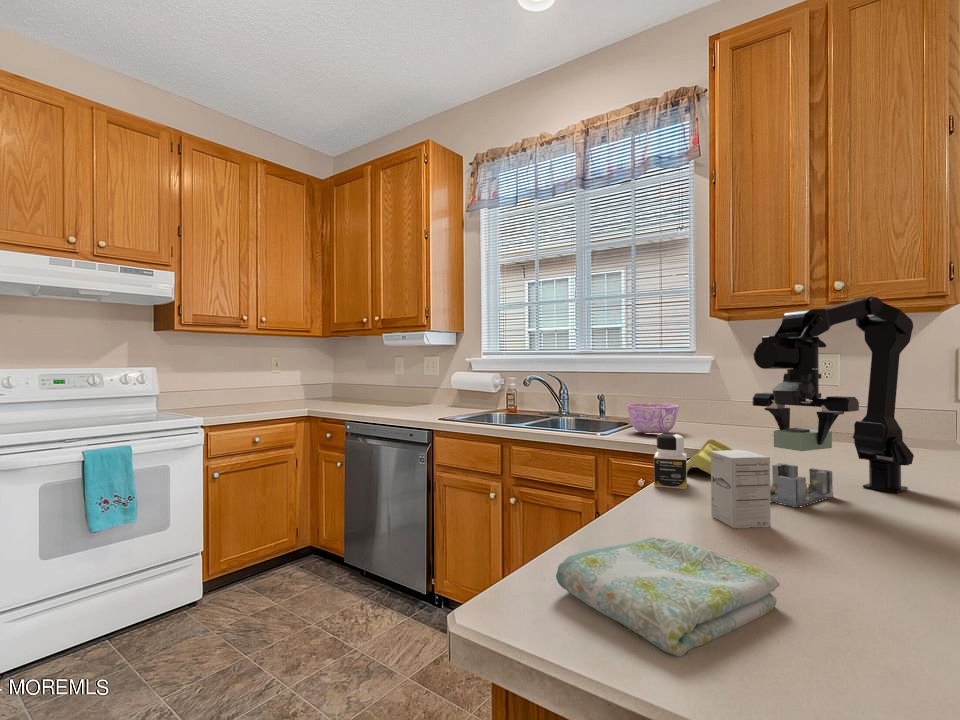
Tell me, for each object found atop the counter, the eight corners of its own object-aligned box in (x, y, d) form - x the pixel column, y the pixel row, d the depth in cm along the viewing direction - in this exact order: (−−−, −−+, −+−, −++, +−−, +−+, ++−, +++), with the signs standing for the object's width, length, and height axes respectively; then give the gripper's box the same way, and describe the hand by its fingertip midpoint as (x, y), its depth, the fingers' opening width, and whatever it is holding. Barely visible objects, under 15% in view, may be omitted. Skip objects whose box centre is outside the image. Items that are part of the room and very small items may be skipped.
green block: (803, 444, 115) (803, 425, 115) (831, 447, 109) (831, 429, 109) (773, 447, 110) (773, 428, 110) (801, 451, 105) (801, 431, 105)
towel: (786, 609, 62) (785, 567, 62) (673, 667, 51) (672, 615, 51) (660, 561, 78) (660, 527, 78) (552, 597, 66) (552, 557, 66)
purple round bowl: (679, 438, 196) (679, 407, 196) (624, 436, 203) (624, 406, 203) (679, 431, 214) (679, 403, 214) (629, 429, 222) (629, 402, 222)
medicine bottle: (654, 486, 122) (653, 436, 122) (655, 480, 128) (655, 432, 128) (686, 489, 119) (686, 437, 119) (686, 482, 126) (686, 433, 126)
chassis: (780, 486, 120) (780, 463, 120) (833, 496, 111) (832, 471, 111) (744, 496, 112) (743, 471, 112) (797, 508, 103) (797, 480, 103)
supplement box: (710, 517, 98) (709, 450, 98) (747, 515, 99) (746, 449, 99) (732, 529, 91) (731, 457, 91) (772, 527, 91) (771, 456, 91)
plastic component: (729, 471, 127) (690, 450, 132) (716, 496, 129) (678, 475, 134) (741, 453, 143) (706, 435, 148) (729, 475, 146) (695, 457, 150)
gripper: (739, 368, 113) (739, 440, 113) (835, 369, 98) (835, 452, 98) (765, 368, 119) (765, 436, 119) (859, 369, 104) (860, 447, 104)
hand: (802, 442), depth 110 cm, fingers closed on green block, 6 cm apart
